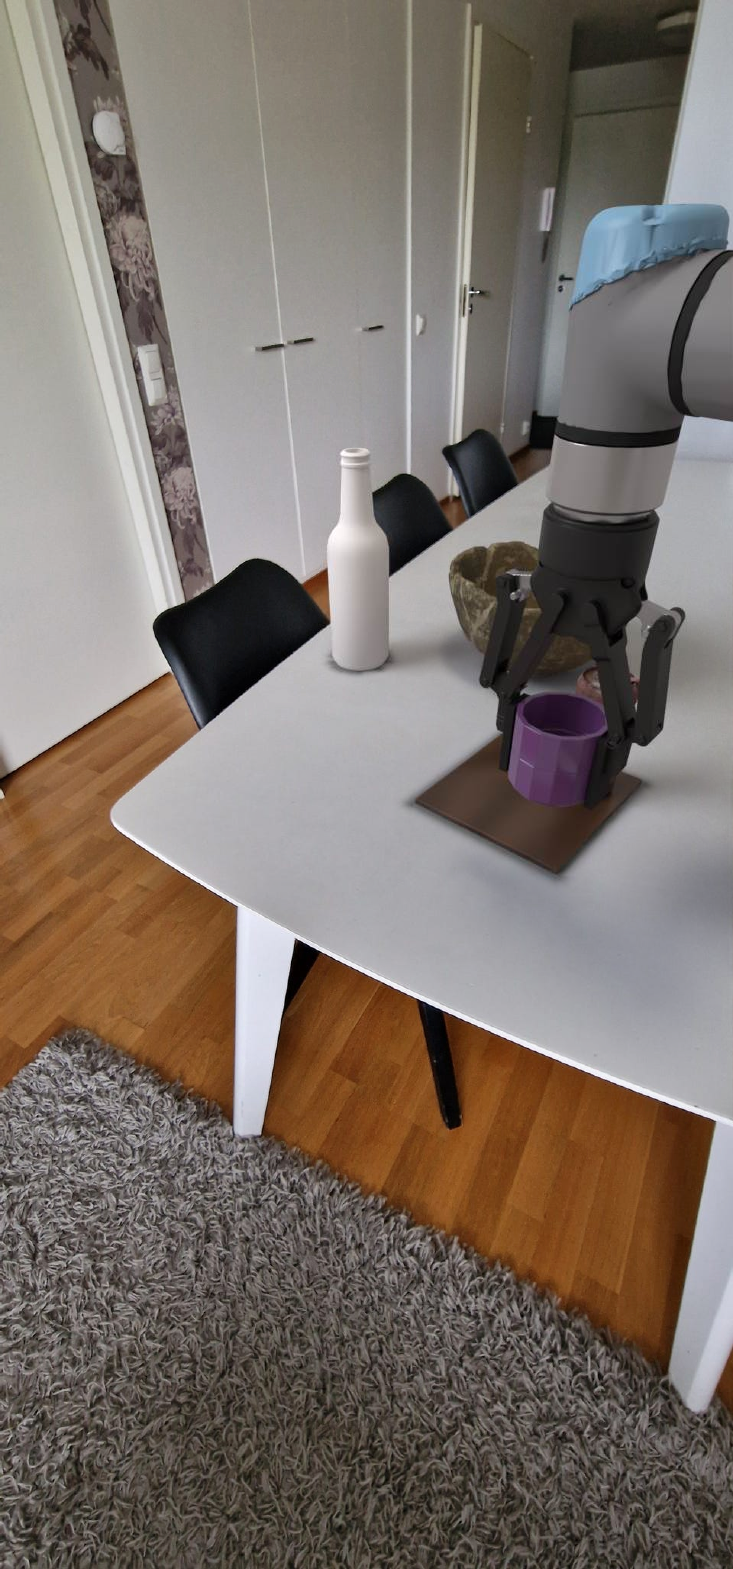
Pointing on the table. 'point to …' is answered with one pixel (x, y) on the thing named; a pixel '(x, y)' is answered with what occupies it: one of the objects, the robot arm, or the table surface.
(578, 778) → the purple faceted cup
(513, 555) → the bowl
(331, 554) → the alcohol
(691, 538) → the table surface
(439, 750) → the table surface
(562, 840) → the placemat
